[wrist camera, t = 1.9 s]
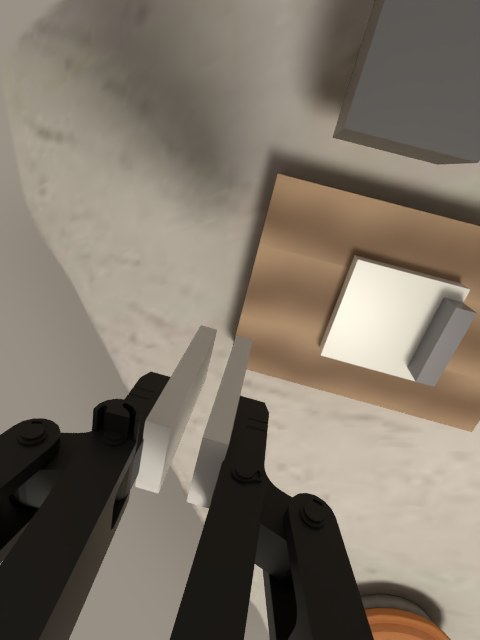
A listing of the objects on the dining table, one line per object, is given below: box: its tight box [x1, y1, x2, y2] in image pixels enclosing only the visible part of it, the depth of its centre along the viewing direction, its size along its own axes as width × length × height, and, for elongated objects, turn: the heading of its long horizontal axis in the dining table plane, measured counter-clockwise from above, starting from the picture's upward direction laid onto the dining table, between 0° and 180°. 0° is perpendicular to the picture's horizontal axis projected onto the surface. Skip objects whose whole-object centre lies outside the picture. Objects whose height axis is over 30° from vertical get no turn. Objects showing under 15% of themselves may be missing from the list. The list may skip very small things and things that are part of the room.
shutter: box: [319, 255, 477, 387], centre depth 25 cm, size 8×8×3 cm
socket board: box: [232, 173, 480, 432], centre depth 29 cm, size 16×22×4 cm
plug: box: [333, 0, 480, 164], centre depth 20 cm, size 6×6×11 cm
